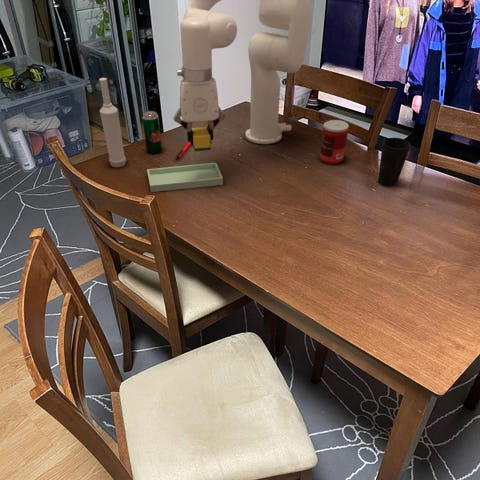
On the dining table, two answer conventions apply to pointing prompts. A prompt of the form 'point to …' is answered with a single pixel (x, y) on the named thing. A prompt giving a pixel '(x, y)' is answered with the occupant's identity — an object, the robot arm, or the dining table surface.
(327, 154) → the canned food
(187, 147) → the pen
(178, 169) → the tray
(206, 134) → the sponge
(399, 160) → the cup
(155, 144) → the soda can
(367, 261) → the dining table surface
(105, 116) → the bottle
